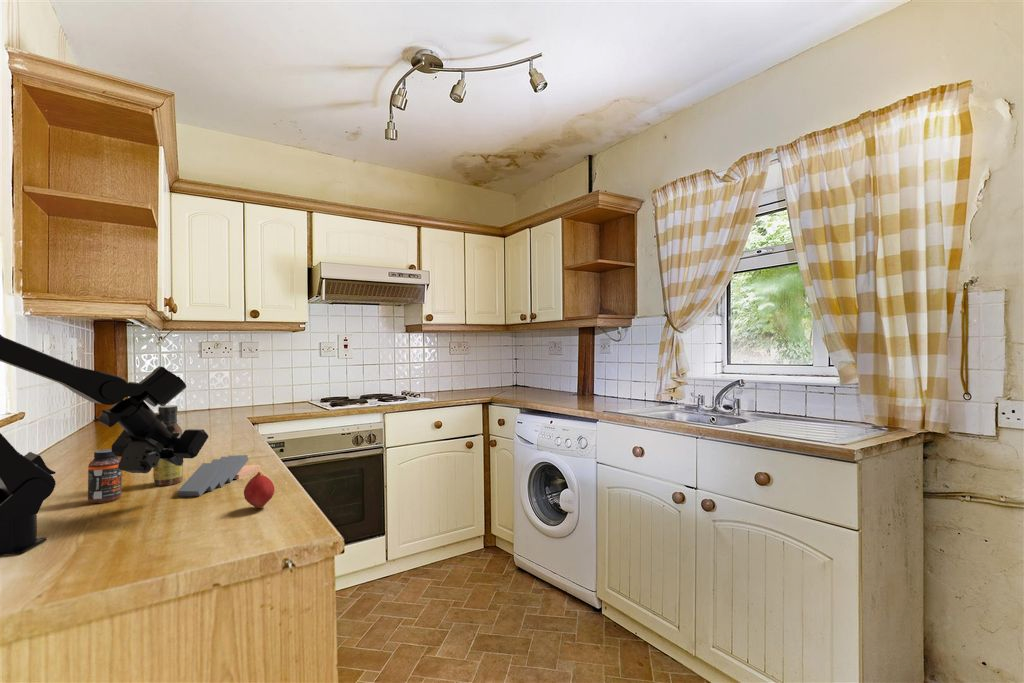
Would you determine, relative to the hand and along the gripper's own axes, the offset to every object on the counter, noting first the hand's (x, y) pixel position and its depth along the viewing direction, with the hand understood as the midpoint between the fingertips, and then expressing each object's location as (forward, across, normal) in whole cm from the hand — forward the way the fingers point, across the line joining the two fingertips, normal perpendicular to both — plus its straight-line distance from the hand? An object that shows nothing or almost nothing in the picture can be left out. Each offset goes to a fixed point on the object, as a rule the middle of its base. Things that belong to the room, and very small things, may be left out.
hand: (180, 464), depth 113 cm
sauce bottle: (+15, -14, +3) cm, 20 cm away
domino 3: (+12, 0, +2) cm, 12 cm away
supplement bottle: (+5, -17, -7) cm, 19 cm away
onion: (+3, +22, -9) cm, 24 cm away
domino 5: (+17, 0, +7) cm, 19 cm away
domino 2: (+9, 0, -1) cm, 9 cm away
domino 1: (+7, 0, -4) cm, 8 cm away
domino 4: (+15, 0, +5) cm, 15 cm away
